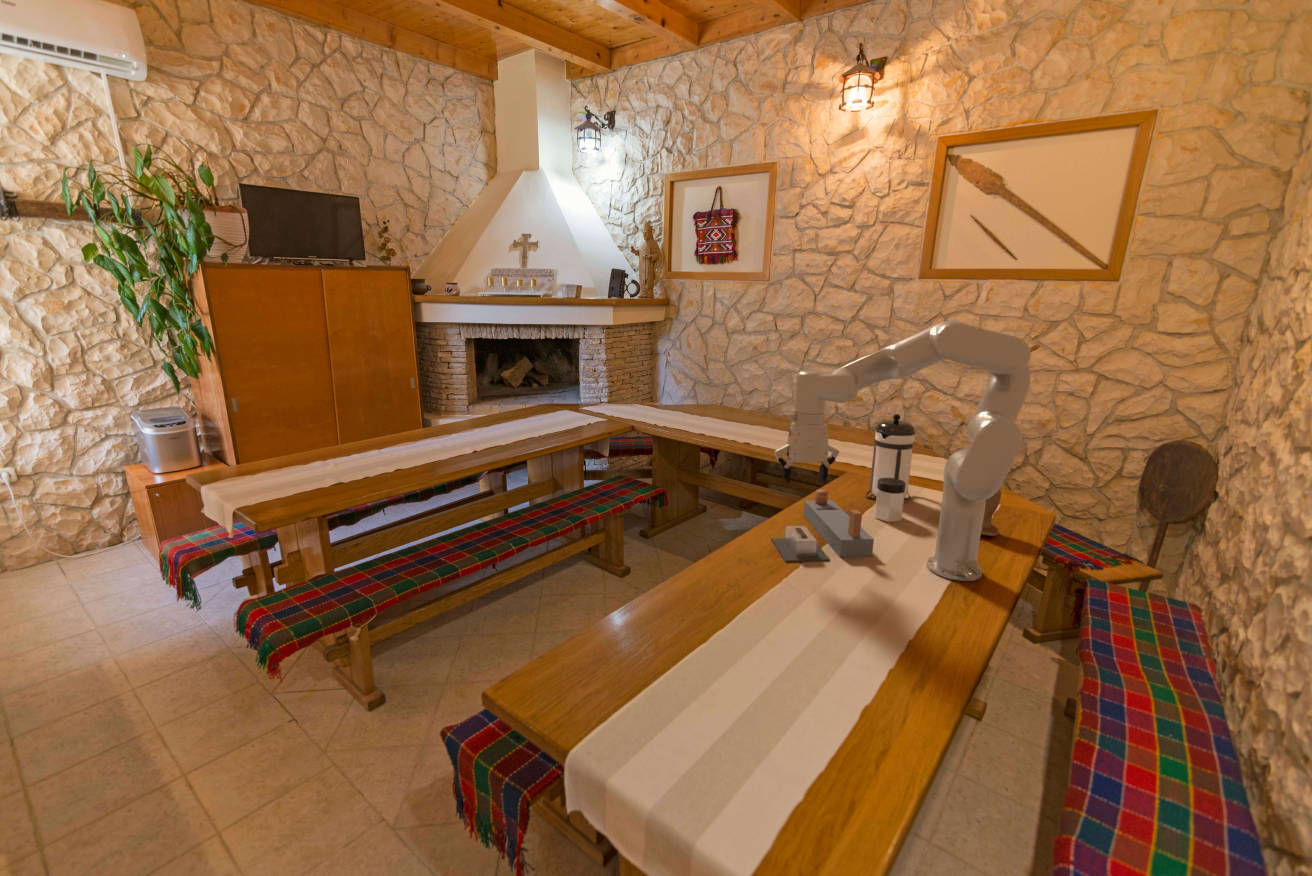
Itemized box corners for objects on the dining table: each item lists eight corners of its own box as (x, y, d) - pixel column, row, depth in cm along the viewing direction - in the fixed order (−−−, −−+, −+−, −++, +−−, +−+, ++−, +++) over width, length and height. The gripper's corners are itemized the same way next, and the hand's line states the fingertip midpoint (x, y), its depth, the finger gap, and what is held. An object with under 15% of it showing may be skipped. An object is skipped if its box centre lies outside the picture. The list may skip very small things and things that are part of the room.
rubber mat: (829, 560, 150) (829, 559, 150) (785, 562, 149) (785, 560, 149) (811, 539, 163) (811, 537, 163) (771, 540, 162) (771, 538, 162)
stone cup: (997, 528, 172) (1005, 481, 168) (997, 542, 162) (1005, 492, 158) (942, 518, 179) (948, 473, 176) (939, 531, 170) (945, 483, 166)
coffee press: (919, 507, 189) (930, 419, 181) (869, 504, 191) (878, 417, 184) (905, 490, 205) (915, 409, 198) (860, 488, 208) (867, 407, 200)
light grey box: (815, 556, 151) (817, 539, 150) (795, 556, 151) (796, 540, 150) (803, 540, 161) (804, 524, 160) (784, 541, 161) (785, 525, 159)
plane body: (872, 556, 153) (876, 514, 150) (839, 557, 152) (843, 515, 149) (830, 514, 182) (833, 479, 179) (803, 515, 181) (806, 479, 178)
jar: (907, 518, 179) (912, 482, 176) (894, 524, 174) (898, 487, 171) (881, 510, 186) (885, 475, 183) (867, 516, 181) (871, 480, 178)
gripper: (780, 422, 143) (776, 486, 147) (847, 421, 144) (841, 484, 148) (772, 416, 150) (769, 477, 154) (835, 415, 151) (830, 476, 155)
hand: (804, 480), depth 151 cm, fingers open, 9 cm apart
